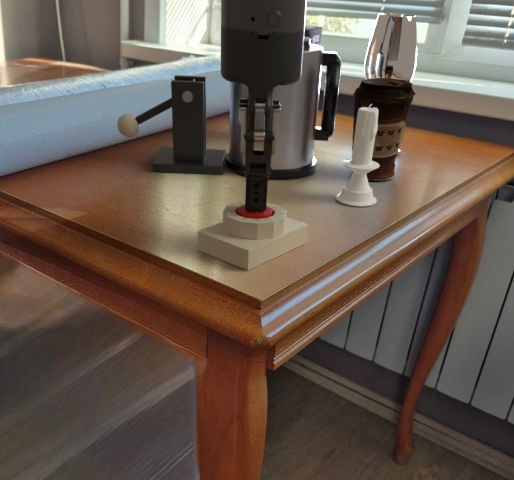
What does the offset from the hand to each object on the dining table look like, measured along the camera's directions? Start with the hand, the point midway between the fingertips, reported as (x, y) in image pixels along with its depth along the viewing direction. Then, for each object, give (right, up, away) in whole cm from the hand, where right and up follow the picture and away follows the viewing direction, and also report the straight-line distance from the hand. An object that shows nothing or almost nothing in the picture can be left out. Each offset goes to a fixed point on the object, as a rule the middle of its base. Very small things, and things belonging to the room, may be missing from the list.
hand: (255, 209), depth 64 cm
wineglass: (+20, +18, +38) cm, 46 cm away
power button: (0, -1, +1) cm, 2 cm away
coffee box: (+7, +30, +54) cm, 62 cm away
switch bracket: (-10, +13, +27) cm, 31 cm away
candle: (+13, +5, +17) cm, 22 cm away
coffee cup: (+17, +11, +26) cm, 33 cm away
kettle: (+3, +13, +28) cm, 31 cm away
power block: (0, -3, +2) cm, 4 cm away
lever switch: (-13, +18, +23) cm, 32 cm away
